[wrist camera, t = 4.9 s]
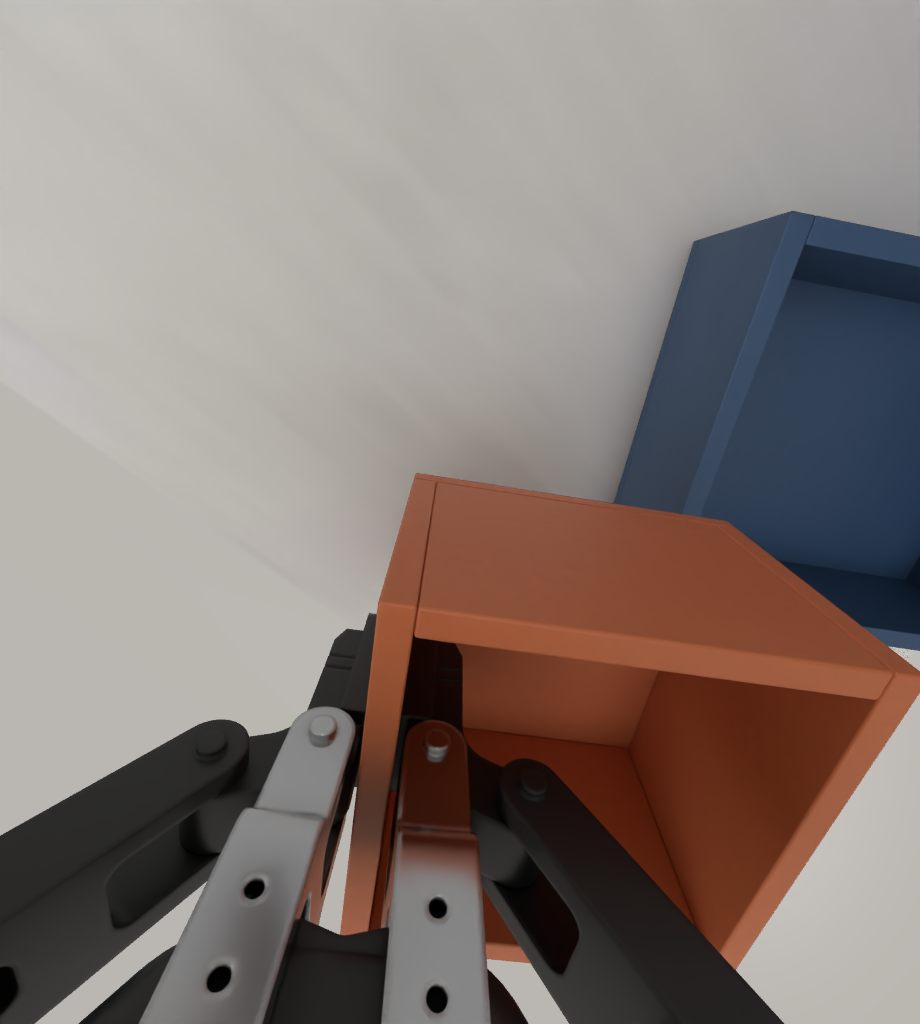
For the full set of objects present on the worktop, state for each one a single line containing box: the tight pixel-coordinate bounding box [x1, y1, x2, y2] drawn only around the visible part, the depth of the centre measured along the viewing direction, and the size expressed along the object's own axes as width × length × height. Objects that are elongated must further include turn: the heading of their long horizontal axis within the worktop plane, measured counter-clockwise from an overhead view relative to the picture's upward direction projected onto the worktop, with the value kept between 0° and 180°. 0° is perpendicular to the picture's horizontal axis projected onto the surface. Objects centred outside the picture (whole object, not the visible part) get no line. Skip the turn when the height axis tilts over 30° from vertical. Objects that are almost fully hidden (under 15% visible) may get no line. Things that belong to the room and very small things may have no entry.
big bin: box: [614, 211, 920, 651], centre depth 21 cm, size 18×15×7 cm
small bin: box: [340, 473, 920, 970], centre depth 12 cm, size 9×9×6 cm
